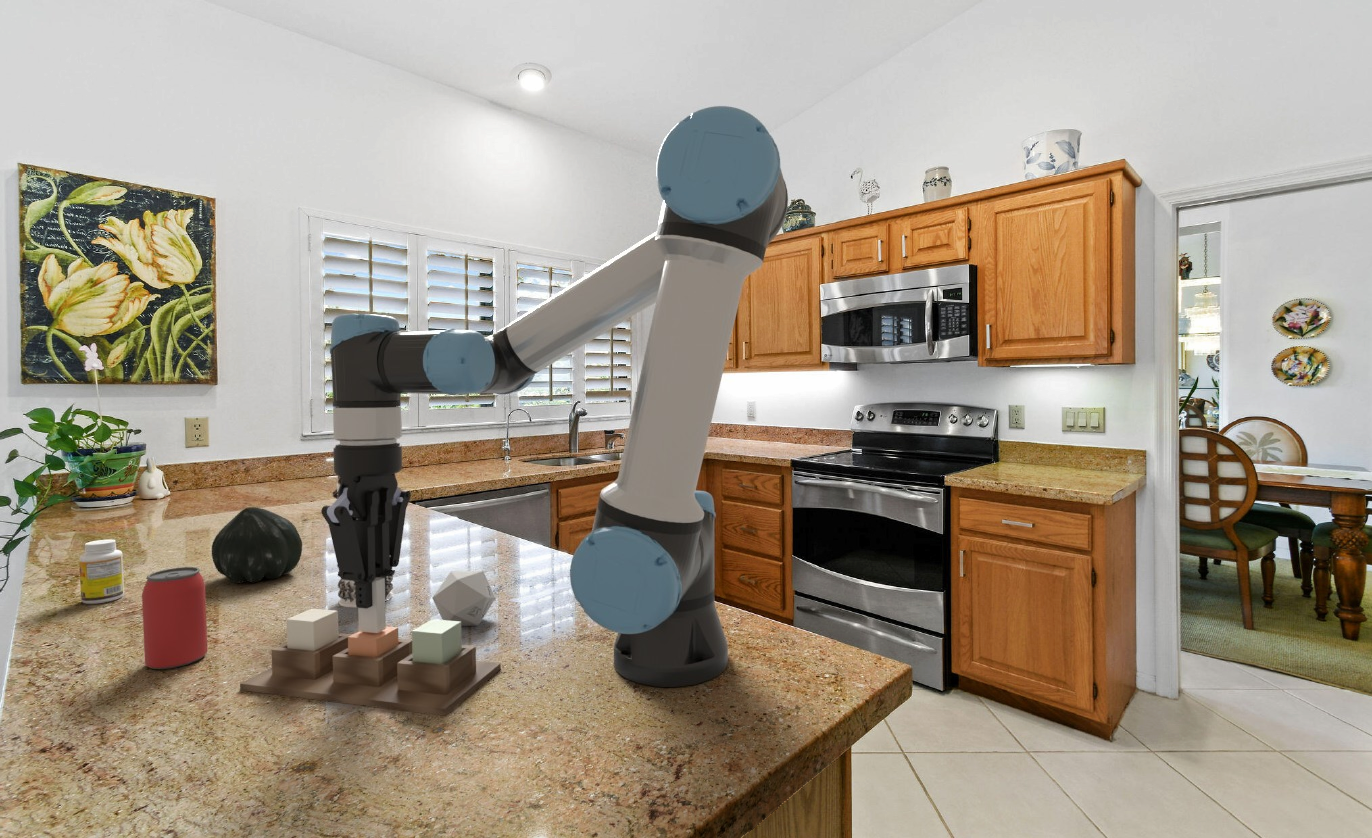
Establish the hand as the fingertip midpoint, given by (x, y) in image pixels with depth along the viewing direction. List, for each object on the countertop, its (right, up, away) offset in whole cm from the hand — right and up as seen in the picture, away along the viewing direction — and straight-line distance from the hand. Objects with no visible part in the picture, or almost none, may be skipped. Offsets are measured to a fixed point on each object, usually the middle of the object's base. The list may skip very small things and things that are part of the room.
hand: (372, 629), depth 79 cm
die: (+5, -6, +20) cm, 21 cm away
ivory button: (-9, -3, +2) cm, 9 cm away
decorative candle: (-16, -5, +31) cm, 35 cm away
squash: (-44, -5, +44) cm, 63 cm away
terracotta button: (0, -4, 0) cm, 4 cm away
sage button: (+9, -3, -2) cm, 10 cm away
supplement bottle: (-62, -5, +31) cm, 70 cm away
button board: (0, -6, 0) cm, 6 cm away
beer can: (-29, -6, +6) cm, 31 cm away
